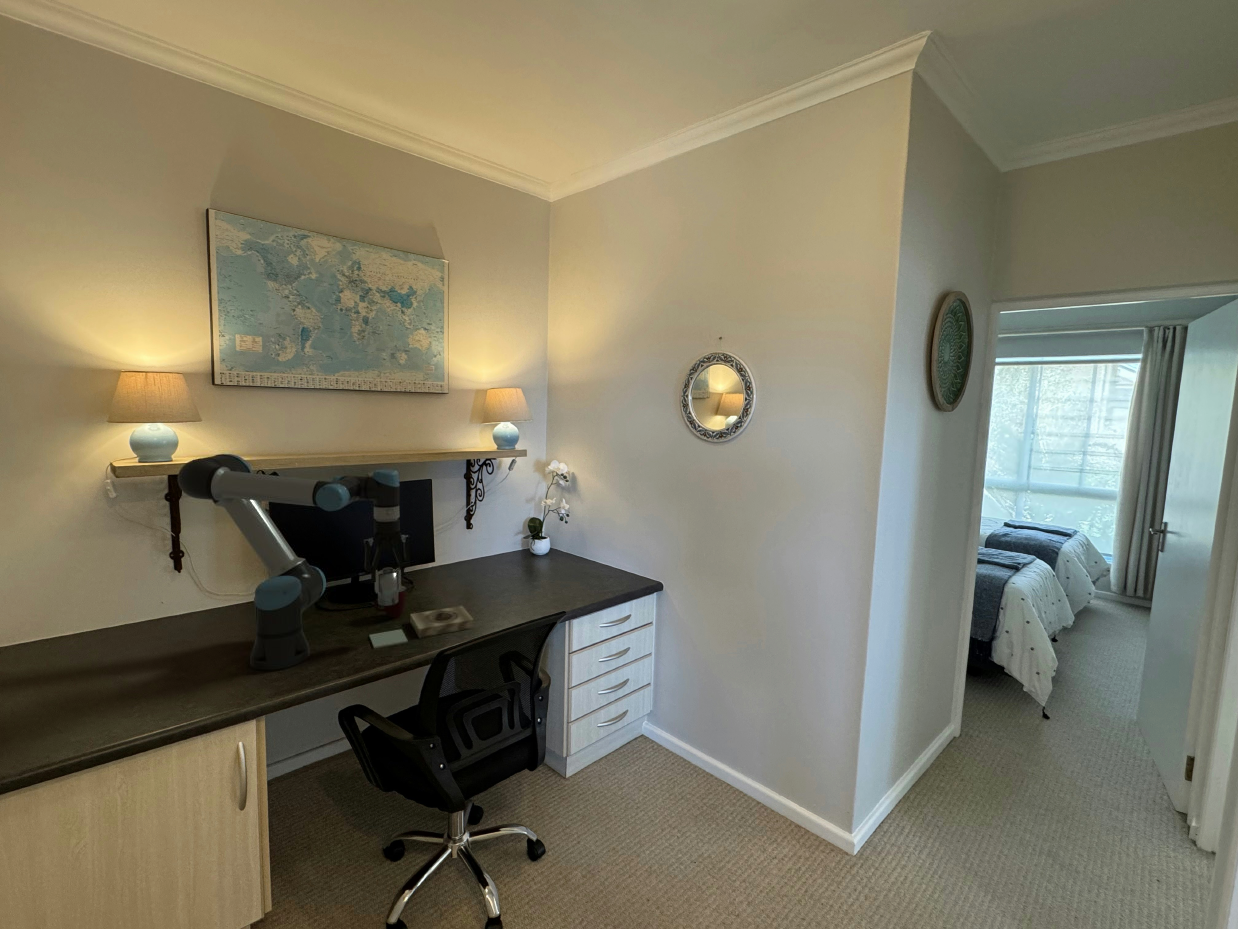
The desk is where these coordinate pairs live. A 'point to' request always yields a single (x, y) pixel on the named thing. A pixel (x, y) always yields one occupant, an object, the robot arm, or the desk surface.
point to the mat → (388, 638)
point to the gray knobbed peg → (388, 587)
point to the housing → (441, 621)
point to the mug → (395, 605)
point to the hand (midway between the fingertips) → (388, 589)
